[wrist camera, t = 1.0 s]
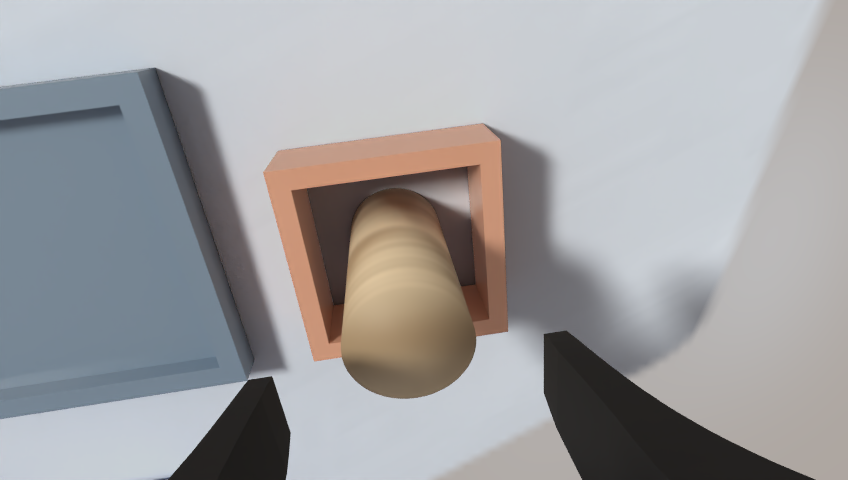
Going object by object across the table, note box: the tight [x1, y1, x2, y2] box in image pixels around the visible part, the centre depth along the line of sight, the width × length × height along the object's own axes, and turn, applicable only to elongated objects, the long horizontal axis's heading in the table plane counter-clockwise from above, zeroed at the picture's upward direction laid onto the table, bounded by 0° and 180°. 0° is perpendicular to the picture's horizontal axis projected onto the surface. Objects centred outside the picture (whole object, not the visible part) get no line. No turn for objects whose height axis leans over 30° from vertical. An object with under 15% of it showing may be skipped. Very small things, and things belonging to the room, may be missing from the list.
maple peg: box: [341, 188, 476, 399], centre depth 18 cm, size 4×4×8 cm
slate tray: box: [0, 68, 254, 419], centre depth 20 cm, size 14×14×2 cm
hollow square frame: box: [263, 123, 508, 361], centre depth 20 cm, size 9×9×3 cm
